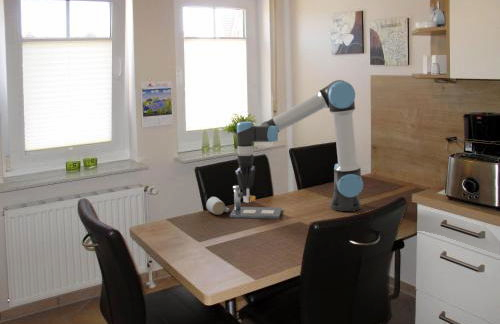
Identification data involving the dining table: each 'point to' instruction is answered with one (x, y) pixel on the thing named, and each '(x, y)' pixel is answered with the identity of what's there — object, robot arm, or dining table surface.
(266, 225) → the dining table surface
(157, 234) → the dining table surface
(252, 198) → the swing arm
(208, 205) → the ceramic mug
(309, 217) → the dining table surface
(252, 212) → the grey base with post
